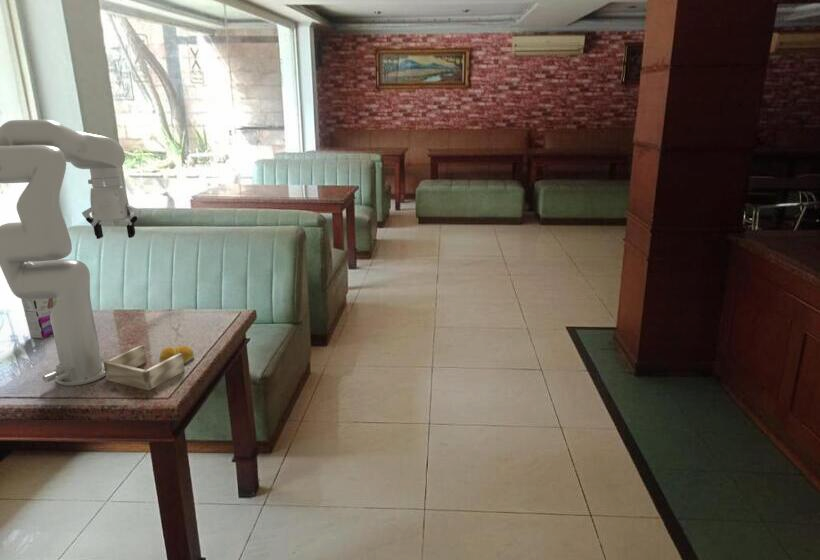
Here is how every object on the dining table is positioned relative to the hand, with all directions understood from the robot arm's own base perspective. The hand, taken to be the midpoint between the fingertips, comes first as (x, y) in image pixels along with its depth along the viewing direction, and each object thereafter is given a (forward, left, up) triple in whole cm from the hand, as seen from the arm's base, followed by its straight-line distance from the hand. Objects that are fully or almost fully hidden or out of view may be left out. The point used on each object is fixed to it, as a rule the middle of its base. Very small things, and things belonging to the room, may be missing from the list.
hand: (115, 237), depth 182 cm
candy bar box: (-16, +17, -29) cm, 37 cm away
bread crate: (-26, -37, -29) cm, 53 cm away
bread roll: (-16, -37, -29) cm, 49 cm away
